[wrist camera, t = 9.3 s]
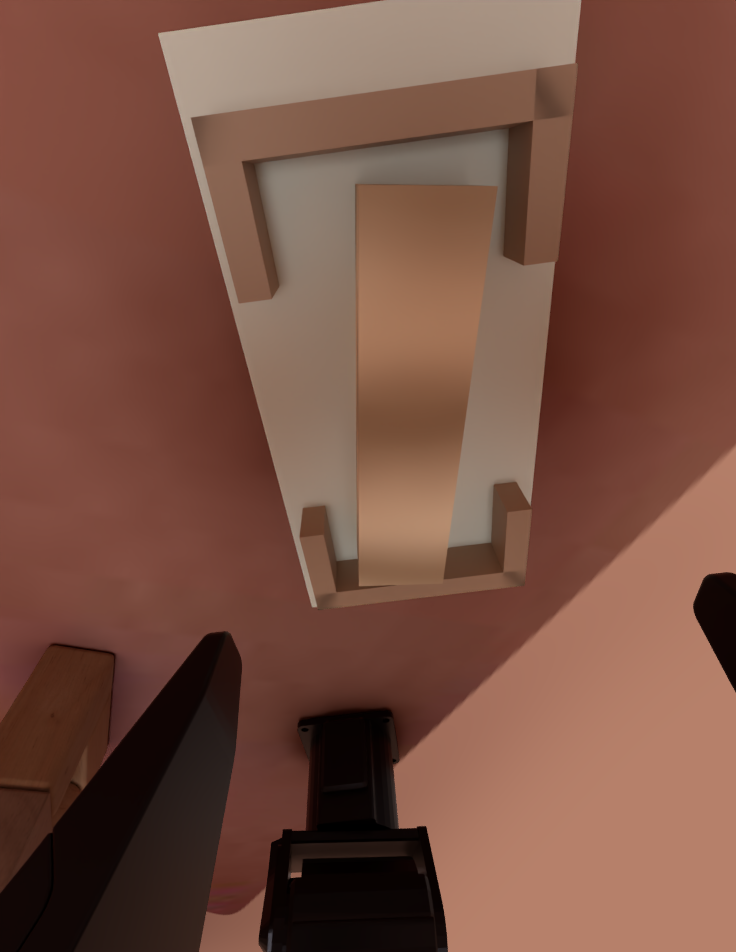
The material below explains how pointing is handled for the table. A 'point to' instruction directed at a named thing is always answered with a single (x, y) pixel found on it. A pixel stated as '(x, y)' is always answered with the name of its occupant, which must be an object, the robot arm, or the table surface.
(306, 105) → the slat board
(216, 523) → the table surface
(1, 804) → the wooden block
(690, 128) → the table surface
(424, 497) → the slat
